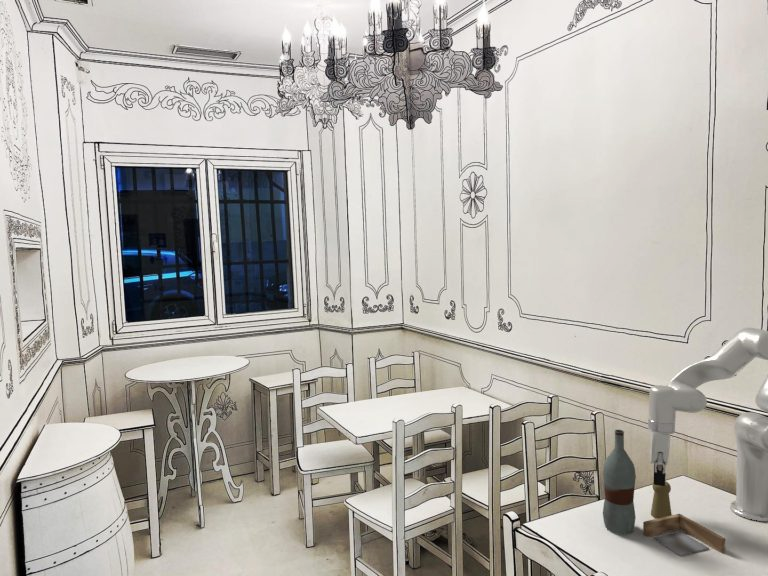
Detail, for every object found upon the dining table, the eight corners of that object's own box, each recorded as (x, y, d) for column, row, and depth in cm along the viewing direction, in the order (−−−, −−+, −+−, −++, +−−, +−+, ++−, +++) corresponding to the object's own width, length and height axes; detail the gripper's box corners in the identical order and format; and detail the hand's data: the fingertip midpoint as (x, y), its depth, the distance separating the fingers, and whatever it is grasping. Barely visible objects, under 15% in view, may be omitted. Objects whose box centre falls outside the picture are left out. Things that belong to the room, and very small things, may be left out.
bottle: (598, 520, 176) (598, 425, 173) (629, 520, 175) (629, 425, 173) (608, 535, 166) (608, 436, 164) (640, 536, 165) (640, 436, 163)
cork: (674, 520, 174) (674, 486, 173) (653, 519, 175) (653, 485, 174) (668, 511, 180) (669, 478, 179) (648, 510, 181) (648, 477, 180)
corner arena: (679, 526, 170) (679, 513, 170) (724, 552, 156) (725, 538, 155) (643, 534, 166) (643, 521, 166) (686, 562, 151) (686, 547, 151)
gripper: (648, 416, 185) (646, 467, 186) (647, 432, 169) (645, 487, 170) (674, 419, 181) (672, 471, 182) (675, 436, 166) (673, 492, 167)
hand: (659, 479), depth 176 cm, fingers open, 9 cm apart
